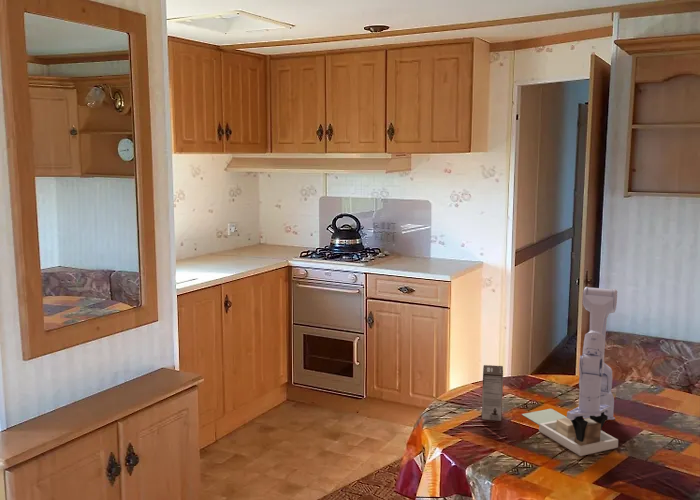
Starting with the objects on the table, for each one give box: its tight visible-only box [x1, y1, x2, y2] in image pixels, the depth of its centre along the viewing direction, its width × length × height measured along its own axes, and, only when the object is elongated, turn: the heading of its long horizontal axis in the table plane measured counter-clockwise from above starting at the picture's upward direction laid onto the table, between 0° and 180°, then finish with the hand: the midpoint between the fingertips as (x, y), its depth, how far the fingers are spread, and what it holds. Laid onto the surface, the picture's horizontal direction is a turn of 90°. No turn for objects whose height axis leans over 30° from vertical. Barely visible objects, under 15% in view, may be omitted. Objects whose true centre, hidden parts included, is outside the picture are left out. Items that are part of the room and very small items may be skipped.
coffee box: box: [481, 364, 504, 422], centre depth 215 cm, size 9×6×16 cm
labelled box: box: [574, 418, 602, 446], centre depth 194 cm, size 5×5×7 cm
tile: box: [521, 408, 567, 426], centre depth 213 cm, size 12×12×1 cm
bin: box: [538, 420, 619, 457], centre depth 198 cm, size 14×18×3 cm
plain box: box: [556, 418, 575, 438], centre depth 201 cm, size 5×5×4 cm
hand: (587, 438), depth 194 cm, fingers closed on labelled box, 5 cm apart
